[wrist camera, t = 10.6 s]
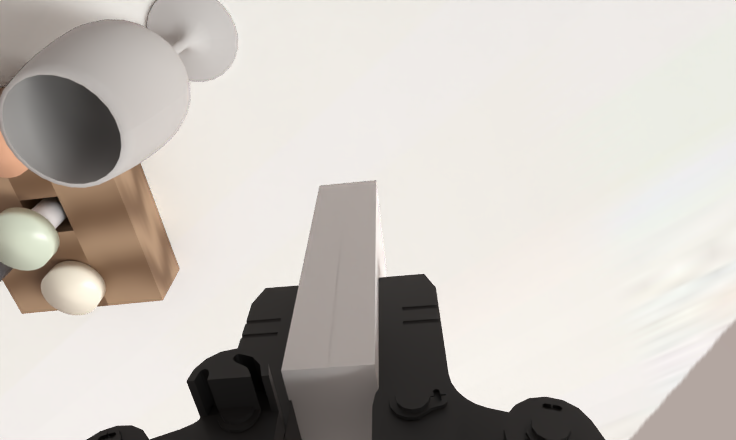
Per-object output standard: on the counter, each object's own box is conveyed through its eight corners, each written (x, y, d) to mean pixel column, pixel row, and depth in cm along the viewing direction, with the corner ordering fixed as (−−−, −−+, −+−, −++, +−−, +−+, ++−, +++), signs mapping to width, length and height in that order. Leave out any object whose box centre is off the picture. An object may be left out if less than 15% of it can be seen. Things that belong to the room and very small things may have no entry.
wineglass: (136, -16, 42) (-48, 48, 24) (235, -14, 42) (126, 52, 24) (154, 82, 46) (7, 201, 28) (244, 84, 46) (157, 204, 28)
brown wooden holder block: (-50, 94, 47) (-94, 114, 42) (107, 73, 46) (78, 92, 41) (49, 282, 57) (21, 313, 52) (179, 269, 55) (162, 300, 51)
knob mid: (17, 184, 47) (-29, 220, 42) (72, 177, 47) (33, 213, 41) (42, 233, 50) (1, 273, 44) (94, 227, 49) (60, 267, 44)
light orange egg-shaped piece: (-2, 95, 46) (-51, 121, 41) (55, 88, 46) (12, 113, 40) (25, 150, 49) (-19, 181, 43) (78, 143, 48) (41, 174, 43)
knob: (66, 235, 53) (31, 273, 48) (115, 230, 53) (85, 267, 47) (86, 277, 56) (54, 317, 50) (133, 272, 55) (106, 312, 50)
